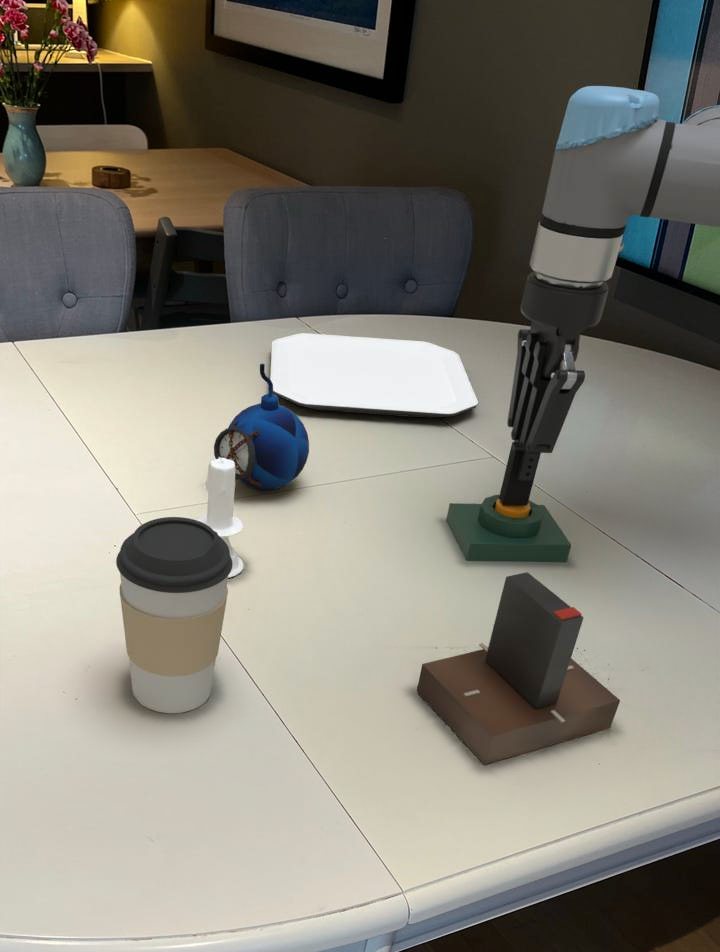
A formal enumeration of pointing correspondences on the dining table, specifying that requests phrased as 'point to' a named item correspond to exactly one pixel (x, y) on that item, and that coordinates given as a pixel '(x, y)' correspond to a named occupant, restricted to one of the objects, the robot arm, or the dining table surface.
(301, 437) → the bomb
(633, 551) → the dining table surface
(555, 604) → the dark grey block
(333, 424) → the dining table surface
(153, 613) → the coffee cup
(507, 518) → the box
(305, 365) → the plate
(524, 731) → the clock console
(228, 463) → the candle
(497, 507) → the button
